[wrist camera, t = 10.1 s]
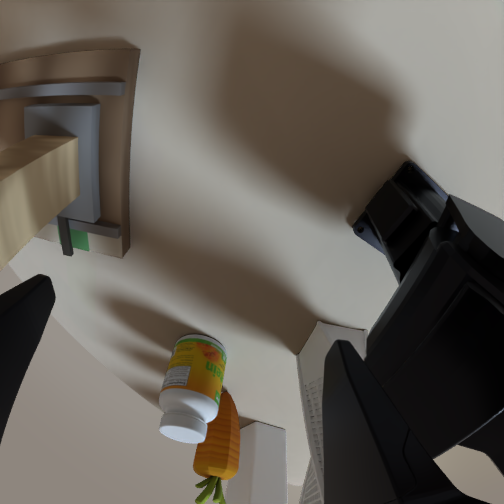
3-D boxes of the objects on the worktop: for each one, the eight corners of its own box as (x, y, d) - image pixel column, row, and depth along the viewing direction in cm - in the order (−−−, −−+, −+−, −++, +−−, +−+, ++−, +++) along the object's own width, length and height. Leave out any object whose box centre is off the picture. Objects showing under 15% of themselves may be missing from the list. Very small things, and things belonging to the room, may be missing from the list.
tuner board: (140, 49, 15) (125, 48, 13) (130, 247, 23) (119, 262, 22) (-7, 66, 14) (-24, 70, 12) (4, 218, 23) (-8, 228, 21)
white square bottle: (231, 430, 41) (215, 558, 23) (255, 418, 38) (241, 563, 20) (265, 440, 43) (256, 561, 25) (291, 429, 40) (286, 563, 22)
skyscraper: (345, 372, 31) (355, 619, 7) (280, 362, 30) (264, 632, 7) (382, 325, 26) (420, 626, 3) (309, 310, 26) (308, 659, 2)
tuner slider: (100, 103, 15) (-56, 176, 6) (104, 256, 22) (26, 378, 12) (33, 104, 15) (-103, 170, 5) (46, 241, 21) (-36, 341, 12)
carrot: (250, 401, 35) (239, 512, 23) (212, 400, 36) (194, 507, 24) (242, 381, 33) (228, 506, 20) (200, 381, 33) (177, 500, 21)
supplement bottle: (236, 360, 30) (224, 446, 22) (192, 367, 32) (174, 445, 24) (211, 328, 28) (191, 421, 20) (165, 337, 29) (138, 421, 21)
